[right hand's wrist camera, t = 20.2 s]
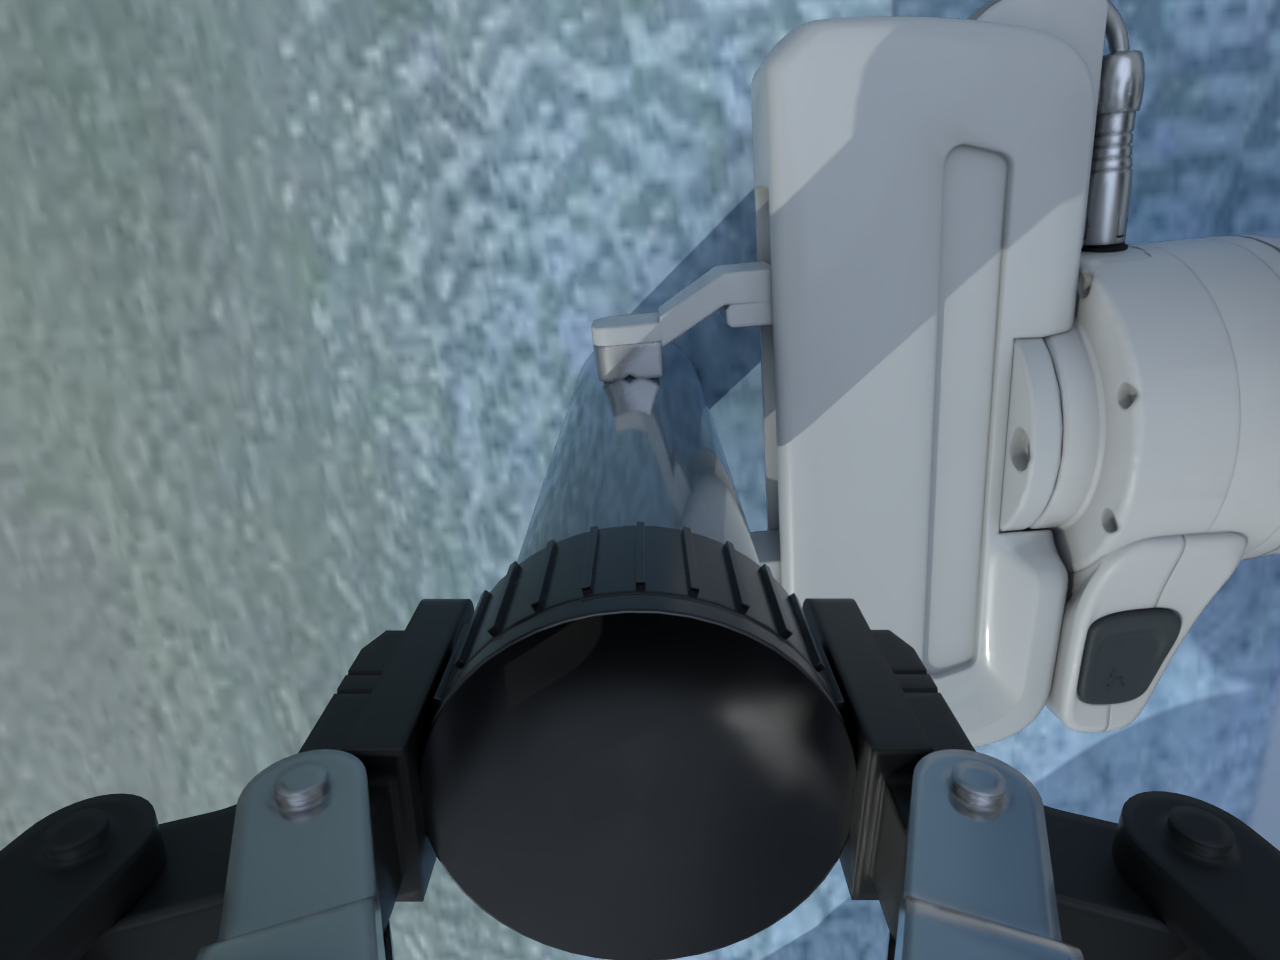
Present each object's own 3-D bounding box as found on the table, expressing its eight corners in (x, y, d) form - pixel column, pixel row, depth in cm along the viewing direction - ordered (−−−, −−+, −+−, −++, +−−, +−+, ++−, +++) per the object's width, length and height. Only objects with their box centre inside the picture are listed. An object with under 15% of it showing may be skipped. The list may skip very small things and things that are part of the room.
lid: (549, 450, 10) (525, 523, 8) (893, 616, 11) (958, 722, 9) (401, 749, 12) (345, 877, 9) (709, 872, 13) (724, 1017, 10)
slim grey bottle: (655, 475, 29) (683, 939, 11) (553, 411, 28) (398, 801, 10) (724, 377, 28) (889, 718, 10) (619, 307, 27) (581, 537, 9)
